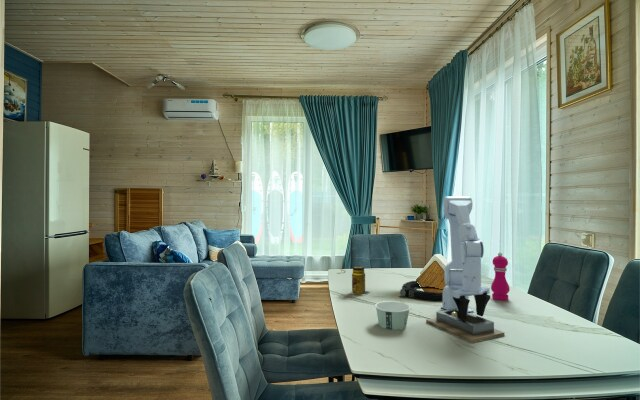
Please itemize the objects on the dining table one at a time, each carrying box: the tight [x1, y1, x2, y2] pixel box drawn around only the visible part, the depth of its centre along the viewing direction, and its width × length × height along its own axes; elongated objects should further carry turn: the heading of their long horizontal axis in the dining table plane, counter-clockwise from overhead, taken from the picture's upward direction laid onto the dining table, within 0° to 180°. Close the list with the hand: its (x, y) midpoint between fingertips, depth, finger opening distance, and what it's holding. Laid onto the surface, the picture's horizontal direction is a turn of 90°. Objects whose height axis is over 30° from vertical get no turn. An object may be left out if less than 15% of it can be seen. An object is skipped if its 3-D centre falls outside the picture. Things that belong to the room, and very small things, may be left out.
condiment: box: [348, 266, 371, 296], centre depth 169 cm, size 7×8×12 cm
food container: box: [374, 300, 411, 331], centre depth 125 cm, size 12×12×6 cm
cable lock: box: [399, 280, 443, 302], centre depth 168 cm, size 28×4×30 cm
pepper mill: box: [490, 252, 510, 302], centre depth 158 cm, size 7×7×20 cm
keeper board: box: [425, 312, 506, 344], centre depth 121 cm, size 20×14×4 cm
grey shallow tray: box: [435, 309, 495, 336], centre depth 122 cm, size 16×9×3 cm, turn 25°
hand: (471, 316), depth 123 cm, fingers open, 7 cm apart
